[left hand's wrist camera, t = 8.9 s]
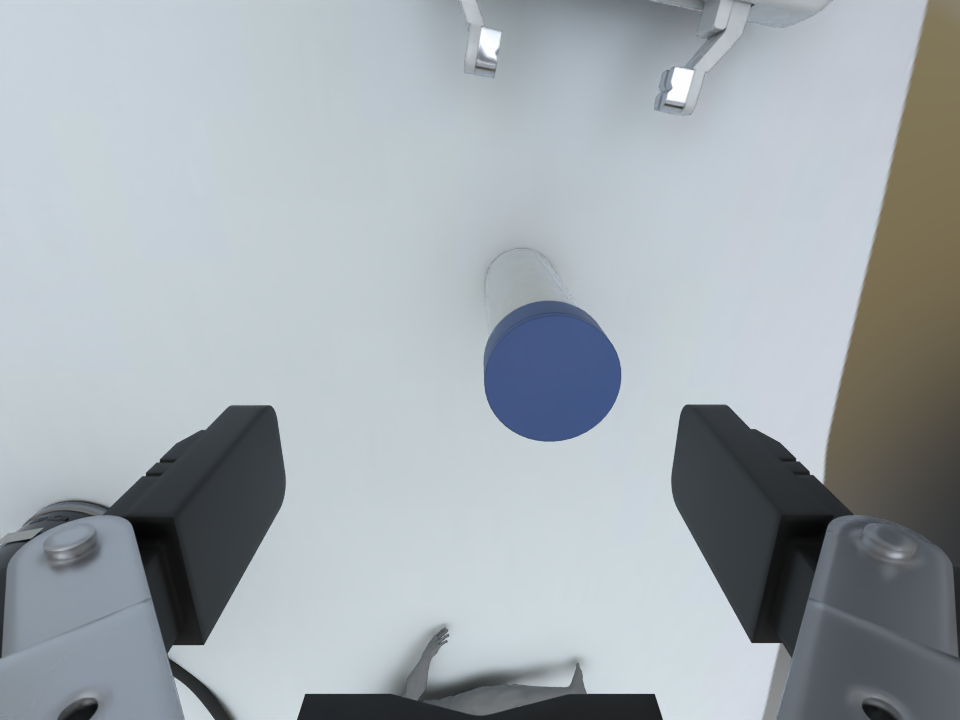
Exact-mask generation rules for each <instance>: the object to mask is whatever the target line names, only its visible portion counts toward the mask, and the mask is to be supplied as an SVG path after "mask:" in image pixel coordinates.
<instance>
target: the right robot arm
mask: <svg viewBox="0 0 960 720" xmlns="http://www.w3.org/2000/svg"><path fill="white" fill-rule="evenodd" d="M649 1H654V2H658V3H663V4H668V5H672V6H677V7H682V8H686V9H691V10H696V11H701V12H702V15H701V18H700V22H699V26H698V30H697V34H696V35H697V37H699V38H703V39H705V38H707V37H708V39H707V41H706V42H705V43H704V45H703V46H702V47H701V48H700V49H699V50H698V52H697V53H696V54H695V55H694V56H693V58H692V59H691V60H690V61H689V62H688V64H687V65H686V66H685V67H684V68H680V67H673V68H670V70H666V71H664V72H663V73H662V77H661V80H660V84H659V89H660V93H659V94H658V95H657V96H656V100H655V104H654V109H655V110H656V111H661V112H665V113H670V114H674V115H680V116H686V115H691V113H692V112H693V110H694V108H695V106H696V103H697V100H698V96H699V93H700V89H701V86H702V82H703V79H704V76H705V73H708V72H709V71H710V70H711V69H712V68H713V67H714V65H715V64H716V63H717V62H718V61H719V60H720V59H721V58H722V57H723V55H724V54H725V53H726V52H727V51H728V50H729V49H730V48H731V47H732V45H733V44H734V43H735V42H736V41H737V40H738V39H739V38H740V37H741V35H742V34H743V30H744V27H745V24H746V21H748V22H753V23H757V24H762V25H767V26H771V27H776V28H784V27H788V26H791V25H793V24H796V23H799V22H801V21H803V20H806V19H808V18H810V17H812V16H815V15H816V14H817V13H819V12H820V11H821V10H823V9H824V8H825V7H826V6H828V5H829V4H830V3H831V2H832V1H833V0H649ZM458 2H459V5H460V8H461V11H462V14H463V17H464V20H465V23H466V26H467V29H468V32H469V36H468V43H467V50H466V56H465V65H464V72H465V73H469V74H474V75H479V76H484V77H490V78H494V76H495V71H496V65H497V55H498V52H499V47H500V41H501V35H502V31H499V30H495V29H490V28H486V27H485V25H484V22H483V19H482V15H481V12H480V9H479V6H478V2H477V0H458Z"/></svg>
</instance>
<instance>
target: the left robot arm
mask: <svg viewBox="0 0 960 720" xmlns="http://www.w3.org/2000/svg"><path fill="white" fill-rule="evenodd" d="M671 484H672V493H673V498H674V502H675V504H676V507H677V509H678V510H679V512H680V514H681V516H682V518H683V519H684V521H685V523H686V525H687V527H688V528H689V530H690V532H691V534H692V536H693V538H694V539H695V541H696V543H697V545H698V547H699V548H700V550H701V552H702V554H703V556H704V557H705V559H706V561H707V563H708V565H709V567H710V568H711V570H712V572H713V574H714V576H715V577H716V579H717V581H718V583H719V585H720V586H721V588H722V590H723V592H724V594H725V596H726V597H727V599H728V601H729V603H730V605H731V606H732V608H733V610H734V612H735V614H736V615H737V617H738V619H739V621H740V623H741V625H742V626H743V628H744V630H745V632H746V634H747V635H748V637H749V639H750V641H751V643H783V645H784V646H785V648H786V649H787V651H788V653H789V654H790V656H791V658H792V659H791V663H790V667H789V670H788V674H787V678H786V681H785V685H784V689H783V692H782V696H781V700H780V704H779V707H778V711H777V715H776V719H775V720H960V568H958V567H953V566H952V564H951V562H950V560H949V558H948V557H947V556H946V554H945V553H944V552H943V551H942V550H941V549H940V548H939V547H938V546H936V545H935V544H934V543H932V542H931V541H930V540H928V539H927V538H925V537H923V536H922V535H920V534H918V533H916V532H914V531H912V530H910V529H908V528H906V527H903V526H901V525H899V524H896V523H893V522H890V521H886V520H883V519H879V518H874V517H869V516H860V515H854V514H853V513H851V511H849V510H848V509H847V508H846V507H845V506H844V505H843V504H842V503H841V502H840V501H839V500H838V499H837V498H836V497H835V496H834V495H833V494H832V493H831V492H830V491H829V490H828V489H827V488H826V487H825V486H824V485H823V484H822V483H821V482H820V481H819V480H818V479H817V478H816V477H815V476H814V475H810V472H809V471H808V470H807V469H806V468H805V467H804V466H803V465H802V464H801V463H800V462H796V458H795V457H794V456H793V455H792V454H791V453H790V452H789V451H788V450H787V449H786V448H785V447H784V446H783V445H782V444H781V443H780V442H778V441H776V440H774V439H772V438H770V437H769V436H767V435H765V434H763V433H761V432H759V431H758V430H756V429H750V428H749V427H748V426H747V425H746V424H745V423H744V422H743V421H742V420H741V419H740V418H739V417H738V416H737V415H736V414H735V413H734V412H733V410H732V409H731V408H730V407H728V406H727V405H685V406H684V407H683V409H682V411H681V415H680V420H679V427H678V434H677V441H676V448H675V454H674V461H673V468H672V477H671ZM285 486H286V477H285V469H284V462H283V455H282V449H281V442H280V435H279V428H278V421H277V416H276V413H275V410H274V409H273V407H272V406H270V405H233V406H229V407H228V408H227V409H226V410H225V411H224V412H223V413H222V414H221V415H220V416H219V417H218V418H217V419H216V420H215V421H214V422H213V423H212V424H211V425H210V426H209V427H208V428H207V429H206V430H201V431H199V432H197V433H195V434H193V435H191V436H190V437H188V438H186V439H184V440H182V441H180V442H178V443H177V444H175V445H174V446H173V447H172V448H171V449H170V450H169V451H168V452H167V453H166V454H165V455H164V456H163V457H162V458H161V459H160V463H156V464H155V465H154V466H153V467H152V468H151V469H150V470H149V471H148V472H147V473H146V476H142V477H141V478H140V479H139V480H138V481H137V482H136V483H135V484H134V485H133V486H132V487H131V488H130V489H129V490H128V491H127V492H126V493H125V494H124V495H123V496H122V497H121V498H120V499H119V500H118V501H116V502H115V503H114V504H113V505H112V506H111V507H110V508H109V509H105V508H103V507H100V506H97V505H94V504H90V503H84V502H61V503H57V504H53V505H50V506H48V507H46V508H44V509H42V510H41V511H39V512H38V513H37V514H35V515H34V516H33V517H32V518H31V519H29V520H28V521H27V522H26V523H25V524H24V525H23V527H22V528H21V529H20V530H18V531H17V532H16V533H10V534H7V535H6V536H5V537H3V538H2V539H1V540H0V544H1V545H0V720H185V719H184V715H183V711H182V707H181V704H180V700H179V696H178V692H177V689H176V685H175V681H174V678H173V676H174V677H175V678H177V679H178V680H180V681H181V682H182V683H183V684H185V685H186V686H187V687H188V688H189V689H190V690H191V691H192V692H193V693H194V694H195V695H196V696H197V697H198V698H199V699H200V701H201V702H202V703H203V704H204V706H205V707H206V708H207V709H208V711H209V712H210V713H211V715H212V716H213V718H214V719H215V720H230V718H229V717H228V715H227V714H226V712H225V711H224V710H223V708H222V707H221V705H220V704H219V703H218V701H217V700H216V699H215V697H214V696H213V695H212V694H211V692H210V691H209V690H208V689H207V688H206V687H205V686H204V685H203V684H202V683H201V682H200V681H199V680H197V679H196V678H195V677H194V676H193V675H191V674H190V673H189V672H187V671H186V670H184V669H183V668H182V667H180V666H179V665H177V664H176V663H174V662H172V661H171V660H169V659H168V655H167V653H168V652H169V650H170V649H171V647H172V645H204V644H205V642H206V640H207V639H208V637H209V635H210V633H211V631H212V630H213V628H214V626H215V624H216V622H217V621H218V619H219V617H220V615H221V613H222V612H223V610H224V608H225V606H226V604H227V603H228V601H229V599H230V597H231V596H232V594H233V592H234V590H235V588H236V587H237V585H238V583H239V581H240V579H241V578H242V576H243V574H244V572H245V570H246V569H247V567H248V565H249V563H250V561H251V560H252V558H253V556H254V554H255V553H256V551H257V549H258V547H259V545H260V544H261V542H262V540H263V538H264V536H265V535H266V533H267V531H268V529H269V527H270V526H271V524H272V522H273V520H274V518H275V517H276V515H277V513H278V511H279V510H280V508H281V505H282V503H283V499H284V495H285ZM297 720H663V719H662V715H661V712H660V709H659V706H658V703H657V700H656V697H655V694H567V695H563V696H559V697H555V698H551V699H547V700H544V701H540V702H536V703H532V704H528V705H524V706H520V707H516V708H513V709H509V710H505V711H501V712H497V713H493V714H489V715H471V714H467V713H463V712H459V711H455V710H451V709H447V708H444V707H440V706H436V705H432V704H428V703H424V702H420V701H416V700H413V699H409V698H405V697H401V696H397V695H393V694H305V697H304V700H303V703H302V706H301V709H300V712H299V715H298V719H297Z"/></svg>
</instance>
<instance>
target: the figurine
mask: <svg viewBox="0 0 960 720" xmlns="http://www.w3.org/2000/svg"><path fill="white" fill-rule="evenodd" d="M447 632H448V629H446V628H444V629H442V630H441V631H440V632H438V634H436V635H435V636H434V637H433V638H432V640H431V641H430V643H429V644H428V646H427V647H426V649H425V651H424V652H423V655H422V657H421V659H420V661H419V663H418V664H417V666H416V667H415V668H414V670H413V671H412V673H411V674H410V676H409V677H408V679H407V683H406V692H405V693H404V694H403V695H402V696H401V697H405V698H409V699H413V700H416V701H418V699H419V697H420V696H421V695H422V693H423V692H424V690H425V688H426V684H427V676H428V669H429V664H430V661H431V658H432V657H433V656H434V655H435V654H436V653H437V652H438V650H439V648H440V646H442V645H443V644H445V643H447V642H448V641H447V640H446V641H444V642H442V641H443V640H444V639H445V638H447V637H449V634H447V635H445V634H446V633H447ZM443 635H445V636H444V637H442V636H443ZM441 637H442V638H441ZM440 638H441V639H440ZM441 642H442V643H441ZM567 694H587V693H586V690H585V688H584V683H583V675H582V671H581V669H580V666H579V663H577V666H576V670H575V674H574V676H573V679H572V682H571V684H570V686H569V687H539V686H526V685H517V684H514V685H511V686H509V685H507V684H502V685H497V686H492V687H489V686H482V687H478V688H475V689H473V690H470V691H466V692H464V693H460V694H457V695H455V696H447V697H445V698H442V699H439V700H436V699H433V700H424V701H422V702H424V703H428V704H432V705H436V706H440V707H444V708H447V709H451V710H455V711H459V712H463V713H467V714H471V715H489V714H493V713H497V712H501V711H505V710H509V709H513V708H515V707H516V706H517V705H519V704H522V705H528V704H532V703H536V702H540V701H544V700H547V699H551V698H555V697H559V696H563V695H567Z"/></svg>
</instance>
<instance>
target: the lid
mask: <svg viewBox="0 0 960 720" xmlns="http://www.w3.org/2000/svg"><path fill="white" fill-rule="evenodd" d="M620 384H621V367H620V361H619V358H618V355H617V352H616V350H615V349H614V347H613V345H612V343H611V342H610V341H609V339H608V338H607V336H606V335H605V334H604V332H603V331H602V329H601V328H600V326H599V325H598V324H597V322H596V321H595V320H594V319H593V318H592V317H591V316H590V315H589V314H587V313H586V312H585V311H583V310H582V309H580V308H578V307H576V306H574V305H571V304H568V303H565V302H560V301H537V302H533V303H529V304H526V305H524V306H521V307H519V308H517V309H515V310H513V311H512V312H511V313H509V314H508V315H506V316H505V317H504V318H503V319H502V320H501V321H500V322H499V323H498V324H497V326H496V327H495V328H494V330H493V331H492V333H491V335H490V337H489V339H488V341H487V344H486V348H485V353H484V385H485V393H486V396H487V400H488V403H489V405H490V407H491V409H492V411H493V412H494V414H495V415H496V417H497V418H498V419H499V420H500V421H501V422H502V423H503V424H504V425H505V426H506V427H507V428H509V429H510V430H512V431H513V432H515V433H517V434H519V435H521V436H523V437H526V438H529V439H533V440H537V441H562V440H567V439H571V438H574V437H576V436H579V435H581V434H583V433H585V432H587V431H589V430H590V429H592V428H593V427H594V426H596V425H597V424H598V423H599V422H600V421H601V420H602V419H603V418H604V417H605V416H606V415H607V414H608V412H609V411H610V410H611V408H612V406H613V404H614V403H615V401H616V398H617V396H618V393H619V389H620Z"/></svg>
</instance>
